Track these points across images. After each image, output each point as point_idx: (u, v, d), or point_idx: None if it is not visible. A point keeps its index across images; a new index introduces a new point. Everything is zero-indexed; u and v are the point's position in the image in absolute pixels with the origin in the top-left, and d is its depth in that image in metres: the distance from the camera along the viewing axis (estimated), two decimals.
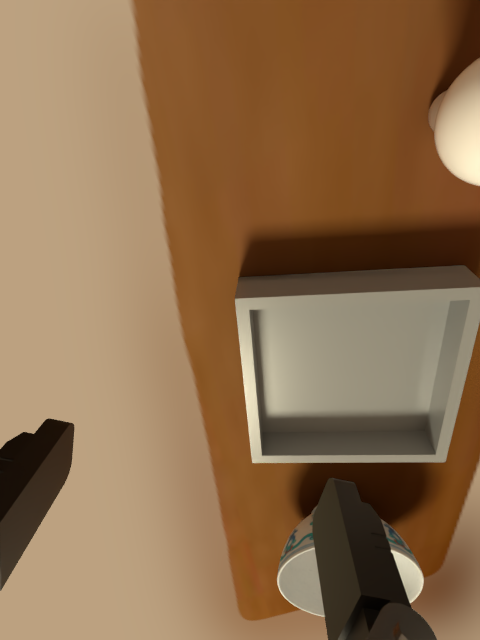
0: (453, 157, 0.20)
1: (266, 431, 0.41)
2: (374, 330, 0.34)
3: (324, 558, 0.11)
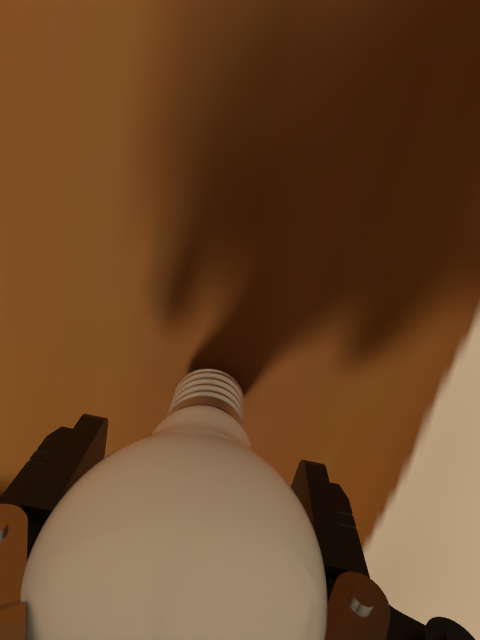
0: None
1: None
2: None
3: None
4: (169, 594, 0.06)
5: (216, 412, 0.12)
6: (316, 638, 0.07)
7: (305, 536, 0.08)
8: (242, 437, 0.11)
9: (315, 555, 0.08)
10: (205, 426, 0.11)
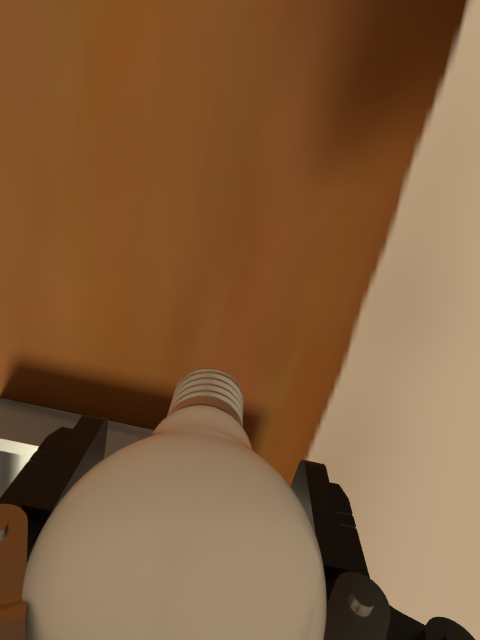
0: None
1: None
2: None
3: None
4: (169, 593, 0.06)
5: (216, 412, 0.12)
6: (315, 636, 0.07)
7: (304, 535, 0.08)
8: (242, 437, 0.11)
9: (314, 554, 0.08)
10: (205, 426, 0.11)
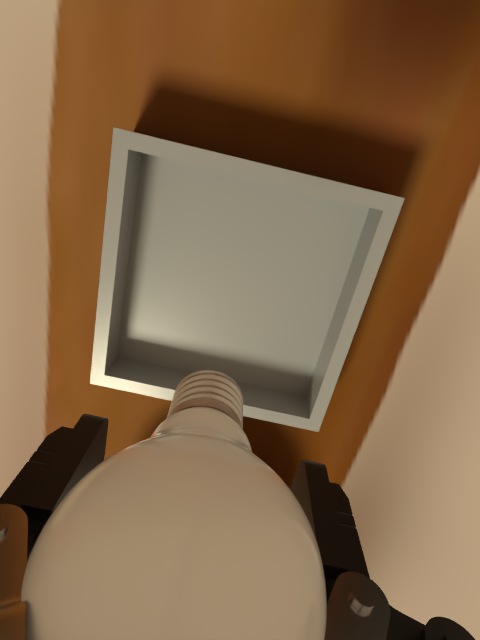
0: None
1: (122, 356, 0.33)
2: (274, 245, 0.29)
3: None
4: (169, 597, 0.06)
5: (216, 414, 0.12)
6: None
7: (304, 537, 0.08)
8: (242, 439, 0.11)
9: (315, 557, 0.08)
10: (205, 428, 0.11)
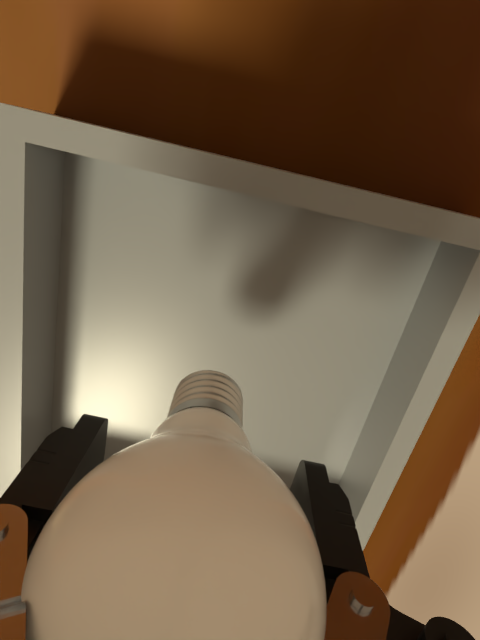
0: None
1: None
2: (285, 296, 0.18)
3: None
4: (168, 598, 0.06)
5: (216, 414, 0.12)
6: None
7: (304, 538, 0.08)
8: (242, 439, 0.11)
9: (314, 558, 0.08)
10: (205, 428, 0.11)
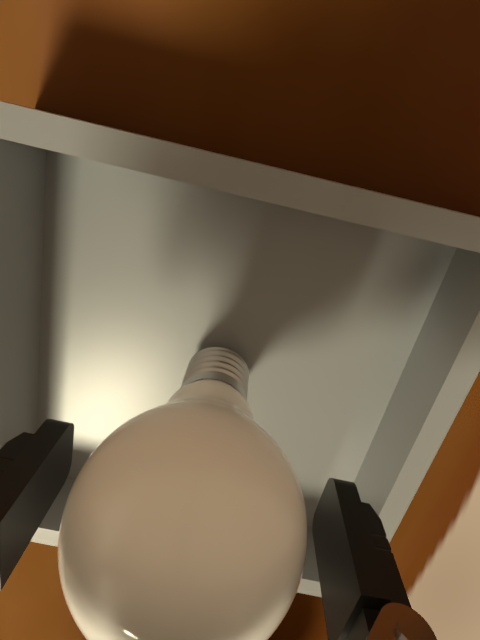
0: None
1: None
2: (287, 306, 0.17)
3: (324, 558, 0.11)
4: (177, 522, 0.08)
5: (222, 385, 0.14)
6: (294, 564, 0.09)
7: (289, 486, 0.09)
8: (244, 407, 0.13)
9: (297, 502, 0.10)
10: (212, 397, 0.12)
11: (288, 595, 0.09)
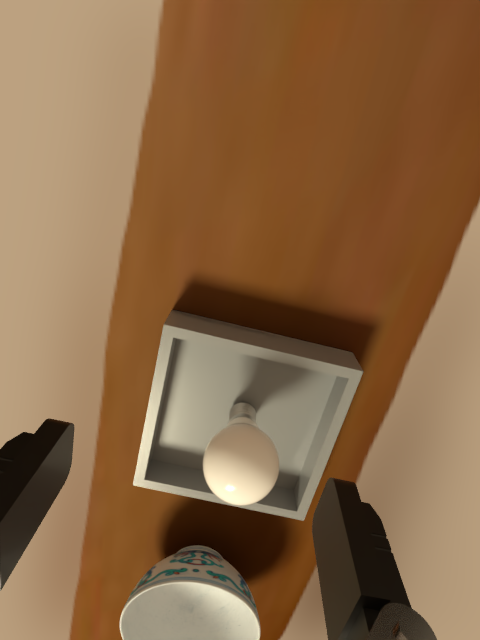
0: (205, 479, 0.32)
1: (155, 459, 0.43)
2: (272, 386, 0.39)
3: (324, 558, 0.11)
4: (244, 453, 0.30)
5: (248, 418, 0.36)
6: (275, 469, 0.31)
7: (273, 448, 0.32)
8: (257, 427, 0.36)
9: (276, 453, 0.32)
10: (246, 423, 0.35)
11: (273, 477, 0.31)
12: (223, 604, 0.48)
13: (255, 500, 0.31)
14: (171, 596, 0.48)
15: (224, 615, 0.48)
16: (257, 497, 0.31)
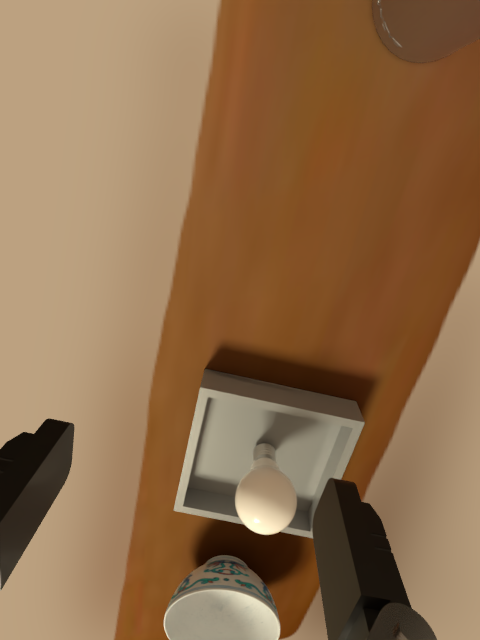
0: (237, 513, 0.40)
1: (190, 487, 0.51)
2: (289, 430, 0.47)
3: (324, 558, 0.11)
4: (270, 495, 0.38)
5: (270, 459, 0.44)
6: (293, 506, 0.39)
7: (292, 488, 0.40)
8: (277, 467, 0.43)
9: (294, 492, 0.40)
10: (268, 464, 0.43)
11: (292, 513, 0.39)
12: (247, 604, 0.57)
13: (278, 531, 0.39)
14: (203, 597, 0.57)
15: (249, 613, 0.56)
16: (279, 529, 0.38)
